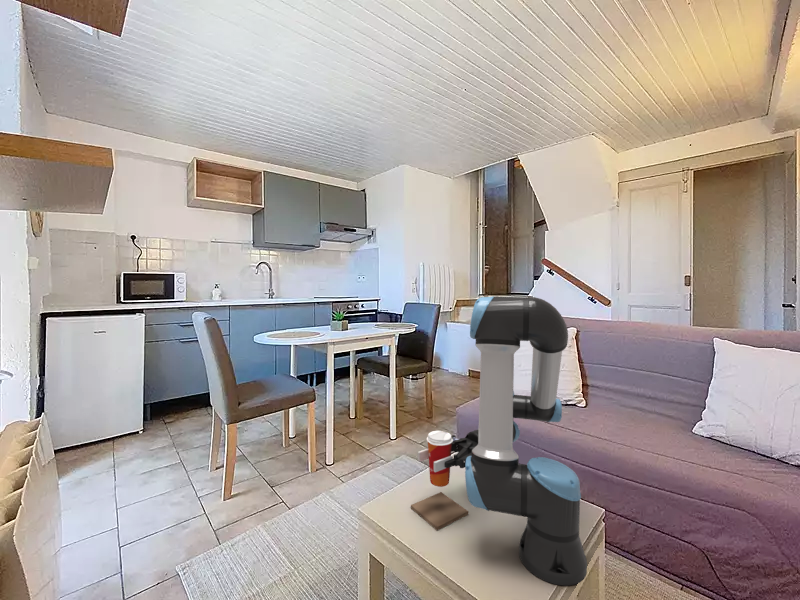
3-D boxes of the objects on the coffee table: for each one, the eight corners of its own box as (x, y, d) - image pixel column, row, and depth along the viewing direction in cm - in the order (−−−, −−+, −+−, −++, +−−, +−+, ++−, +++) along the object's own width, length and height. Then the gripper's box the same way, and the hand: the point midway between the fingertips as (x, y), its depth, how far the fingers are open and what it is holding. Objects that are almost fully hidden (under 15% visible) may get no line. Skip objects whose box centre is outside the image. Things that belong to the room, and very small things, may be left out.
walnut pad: (468, 514, 105) (468, 511, 105) (437, 530, 98) (437, 527, 98) (441, 494, 115) (441, 491, 115) (410, 508, 108) (410, 505, 108)
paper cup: (434, 471, 112) (434, 427, 111) (457, 479, 107) (457, 433, 107) (421, 483, 105) (421, 436, 105) (444, 492, 101) (444, 443, 100)
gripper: (506, 465, 108) (449, 490, 95) (460, 441, 124) (406, 460, 111) (506, 440, 108) (449, 463, 95) (460, 420, 124) (406, 437, 111)
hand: (426, 461), depth 103 cm, fingers closed on paper cup, 6 cm apart
